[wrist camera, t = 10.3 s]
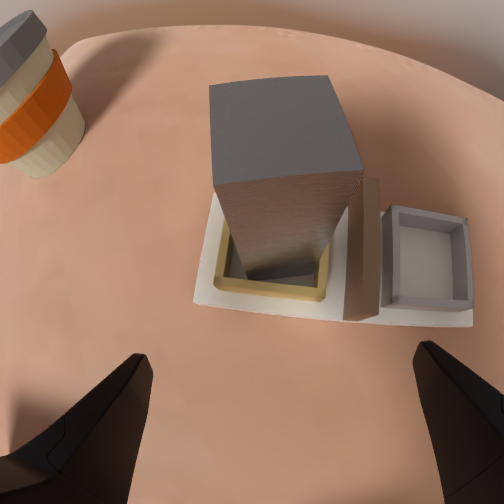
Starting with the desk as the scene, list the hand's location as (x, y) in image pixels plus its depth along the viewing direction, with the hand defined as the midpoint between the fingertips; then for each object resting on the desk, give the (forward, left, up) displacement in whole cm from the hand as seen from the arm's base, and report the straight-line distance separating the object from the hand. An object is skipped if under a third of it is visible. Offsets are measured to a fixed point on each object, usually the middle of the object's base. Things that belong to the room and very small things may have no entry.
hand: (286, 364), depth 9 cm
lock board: (+8, +2, -10) cm, 13 cm away
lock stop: (+4, +6, -9) cm, 11 cm away
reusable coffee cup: (-8, +30, -10) cm, 33 cm away
